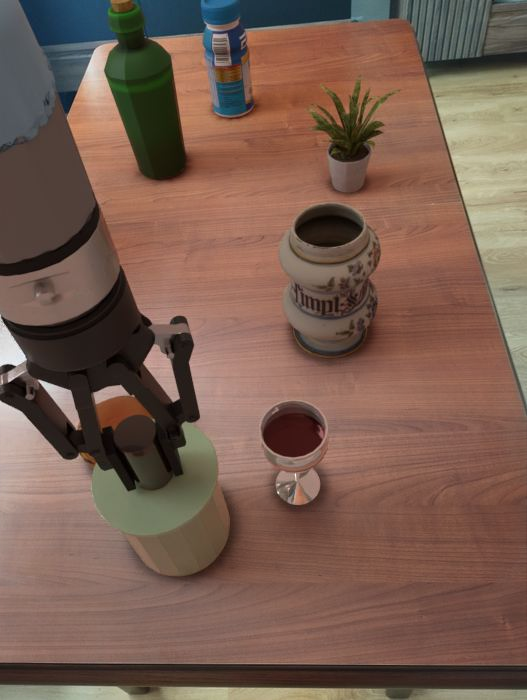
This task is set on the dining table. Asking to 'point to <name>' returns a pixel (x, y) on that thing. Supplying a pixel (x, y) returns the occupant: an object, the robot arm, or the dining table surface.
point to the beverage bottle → (227, 58)
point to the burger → (115, 415)
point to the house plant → (349, 138)
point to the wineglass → (294, 447)
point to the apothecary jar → (330, 278)
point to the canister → (188, 541)
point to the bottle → (145, 93)
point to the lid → (155, 480)
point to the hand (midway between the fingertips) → (153, 469)
